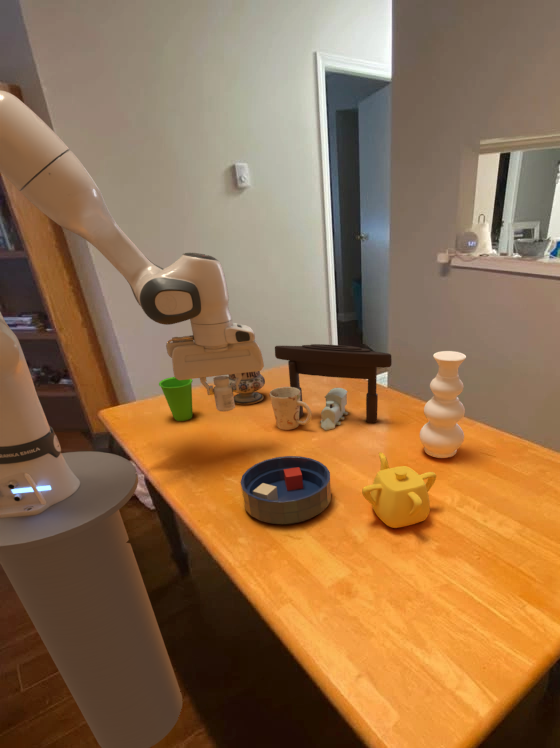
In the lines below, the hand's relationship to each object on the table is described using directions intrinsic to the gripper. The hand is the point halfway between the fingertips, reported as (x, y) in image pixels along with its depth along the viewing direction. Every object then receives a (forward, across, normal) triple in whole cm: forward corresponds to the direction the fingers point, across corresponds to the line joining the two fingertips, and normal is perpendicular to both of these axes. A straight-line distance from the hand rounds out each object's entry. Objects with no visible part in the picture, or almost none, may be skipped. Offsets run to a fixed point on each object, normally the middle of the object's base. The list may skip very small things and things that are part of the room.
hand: (223, 392), depth 110 cm
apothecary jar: (+16, +9, +34) cm, 39 cm away
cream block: (+15, +3, -28) cm, 32 cm away
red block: (+15, +10, -24) cm, 30 cm away
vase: (+16, +49, -20) cm, 55 cm away
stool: (+16, +30, +9) cm, 35 cm away
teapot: (+16, +28, -40) cm, 51 cm away
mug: (+16, +18, +8) cm, 25 cm away
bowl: (+15, +8, -28) cm, 33 cm away
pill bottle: (+4, 0, 0) cm, 4 cm away
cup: (+16, -11, +26) cm, 32 cm away
